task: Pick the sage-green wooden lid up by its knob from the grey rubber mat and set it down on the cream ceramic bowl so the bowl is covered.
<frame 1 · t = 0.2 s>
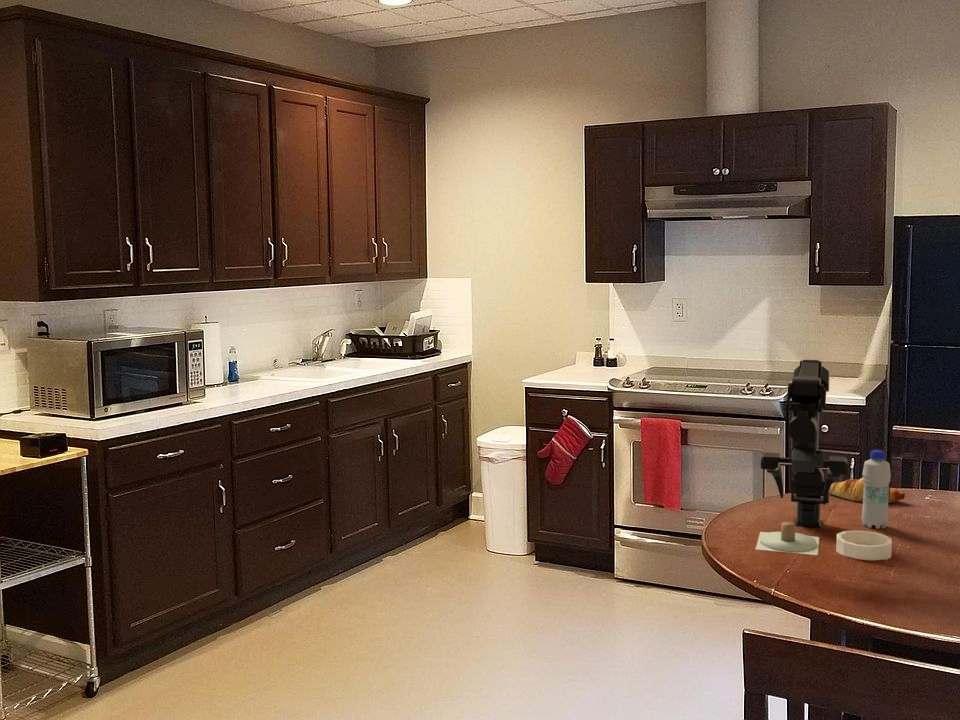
hand: (802, 499, 226), 14 cm above the table, fingers open, 9 cm apart
lid: (787, 543, 237), resting on mat
bowl: (863, 552, 230), on the table
bottle: (874, 527, 250), on the table
mat: (787, 544, 237), on the table
croissant: (864, 499, 275), on the table
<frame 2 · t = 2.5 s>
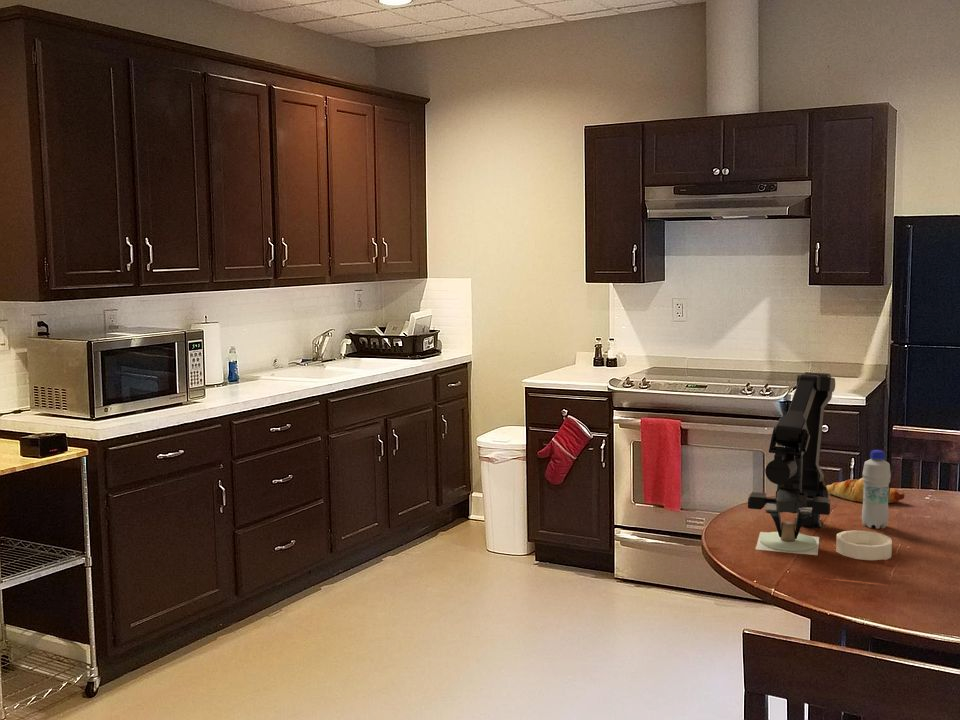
hand: (788, 537, 237), 2 cm above the table, fingers closed on lid, 3 cm apart
lid: (787, 543, 237), resting on mat, touching gripper
everything else where it was.
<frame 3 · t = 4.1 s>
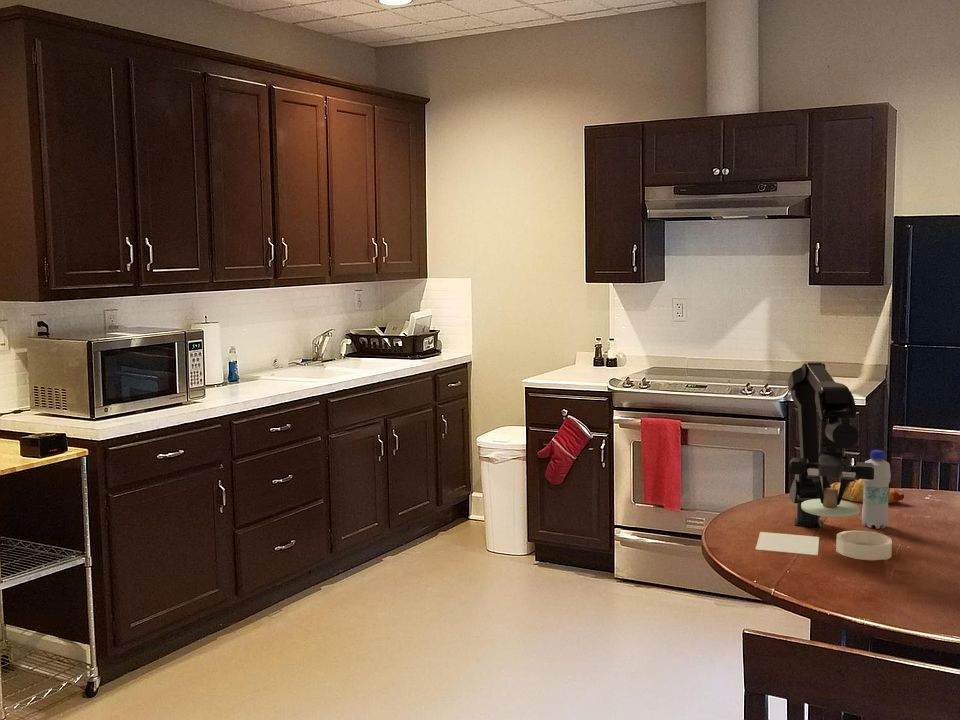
hand: (830, 504, 231), 11 cm above the table, fingers closed on lid, 3 cm apart
lid: (830, 509, 232), point 10 cm above the table, touching gripper
everything else where it was.
when the fingers open (6 cm above the table, at t = 5.7 s): lid drops 1 cm, resting on bowl.
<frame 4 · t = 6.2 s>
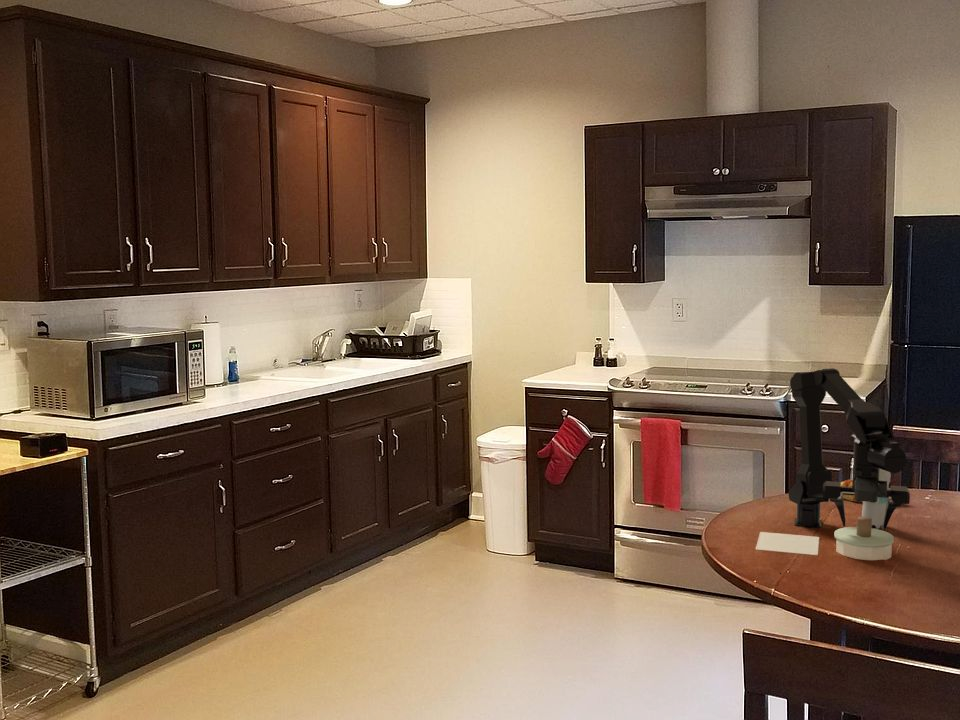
hand: (864, 528, 229), 6 cm above the table, fingers open, 8 cm apart
lid: (863, 538, 230), point 3 cm above the table, touching bowl
everything else where it was.
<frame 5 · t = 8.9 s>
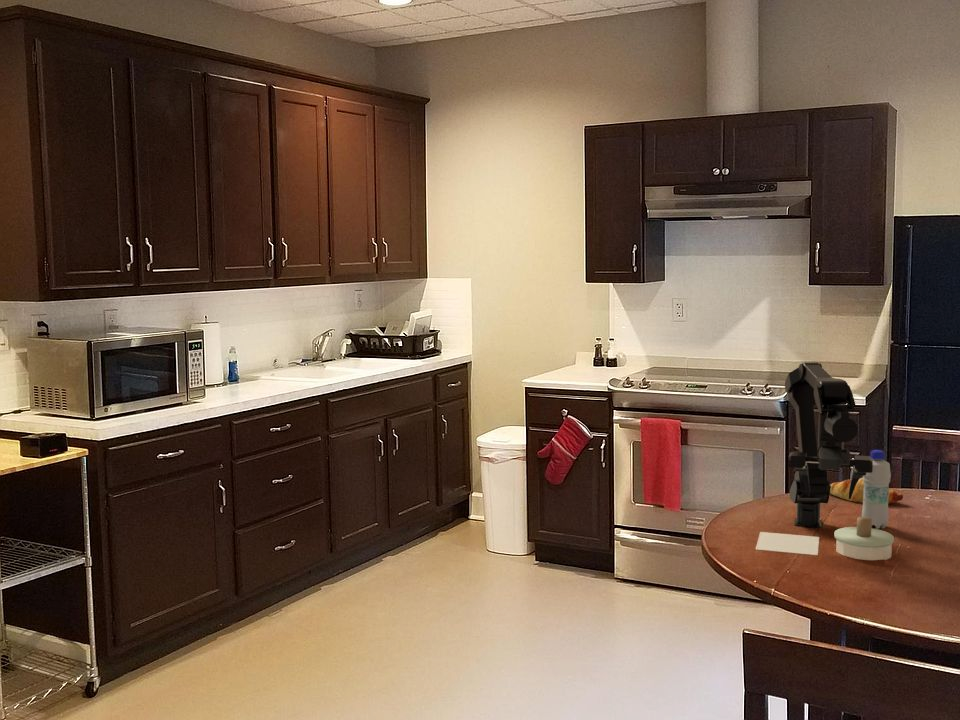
hand: (829, 497, 234), 12 cm above the table, fingers open, 9 cm apart
nothing on the table moved.
at the end: lid 0.1 cm off-centre on the bowl, point 3.5 cm above the bowl's base; lid tilted 0°; the gripper is holding nothing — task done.
